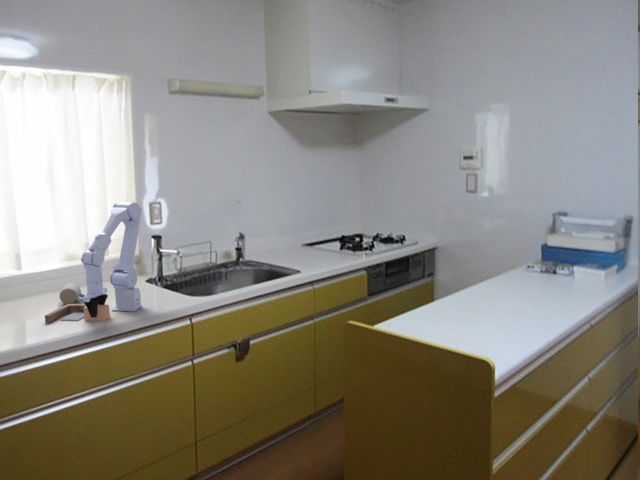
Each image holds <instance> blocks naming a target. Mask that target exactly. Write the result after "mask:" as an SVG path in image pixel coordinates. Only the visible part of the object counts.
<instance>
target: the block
mask: <svg viewBox="0 0 640 480" xmlns="http://www.w3.org/2000/svg"><path fill="white" fill-rule="evenodd" d="M110 315H111V313H110V305H109V304H105V305H98V307H97V317H91V316H90V314H89V311H88V309H87V307H84V318H83V319H84V321H96V320H98V321H99V322H101V321H103V322H104V320H105V321H106V320H107V319H109V318H110V317H111V316H110Z"/></svg>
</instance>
